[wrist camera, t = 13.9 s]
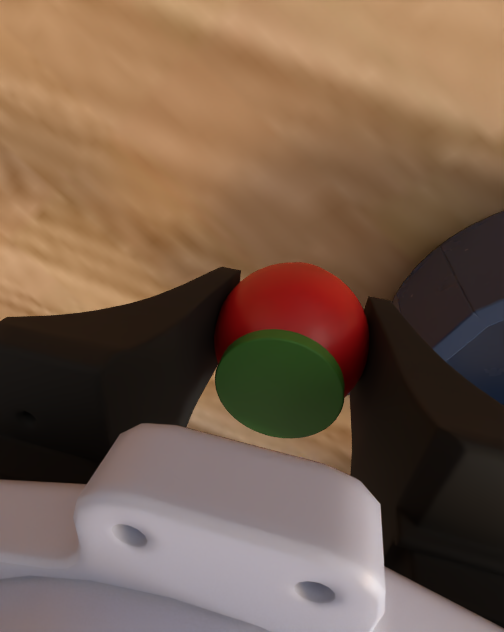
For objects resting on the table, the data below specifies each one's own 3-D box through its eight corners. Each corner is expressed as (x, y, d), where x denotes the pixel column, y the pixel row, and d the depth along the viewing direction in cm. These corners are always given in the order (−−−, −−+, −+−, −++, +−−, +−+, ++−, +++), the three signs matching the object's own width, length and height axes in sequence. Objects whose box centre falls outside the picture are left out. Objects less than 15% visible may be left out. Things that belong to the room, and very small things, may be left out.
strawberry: (349, 352, 14) (346, 473, 10) (237, 327, 15) (188, 431, 10) (382, 243, 12) (398, 339, 7) (249, 219, 12) (192, 295, 8)
